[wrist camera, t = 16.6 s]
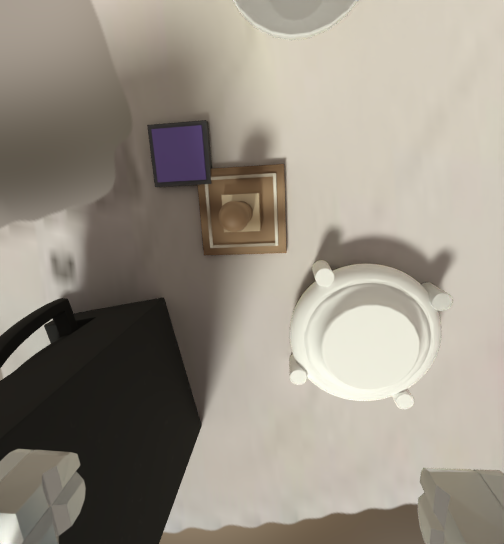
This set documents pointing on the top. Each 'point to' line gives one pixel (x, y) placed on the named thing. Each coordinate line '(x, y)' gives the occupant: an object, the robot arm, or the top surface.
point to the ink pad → (180, 153)
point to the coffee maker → (105, 412)
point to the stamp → (240, 212)
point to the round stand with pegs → (366, 332)
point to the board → (271, 210)
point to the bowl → (294, 16)
